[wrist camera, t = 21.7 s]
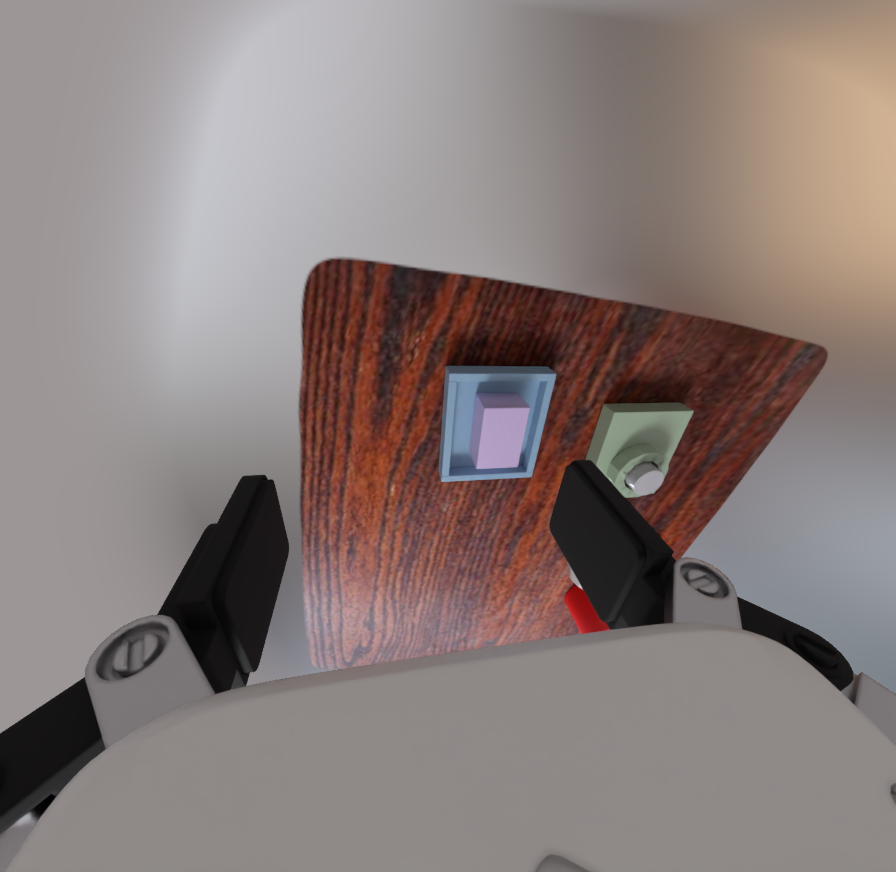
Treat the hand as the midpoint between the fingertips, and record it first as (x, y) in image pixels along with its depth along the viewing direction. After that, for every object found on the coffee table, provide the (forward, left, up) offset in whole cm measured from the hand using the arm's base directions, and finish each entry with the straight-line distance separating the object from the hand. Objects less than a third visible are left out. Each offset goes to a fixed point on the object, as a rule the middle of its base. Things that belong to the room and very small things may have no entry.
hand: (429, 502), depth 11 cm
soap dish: (+10, +10, -23) cm, 27 cm away
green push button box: (+14, +28, -23) cm, 39 cm away
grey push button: (+15, +28, -20) cm, 38 cm away
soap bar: (+10, +10, -23) cm, 27 cm away
